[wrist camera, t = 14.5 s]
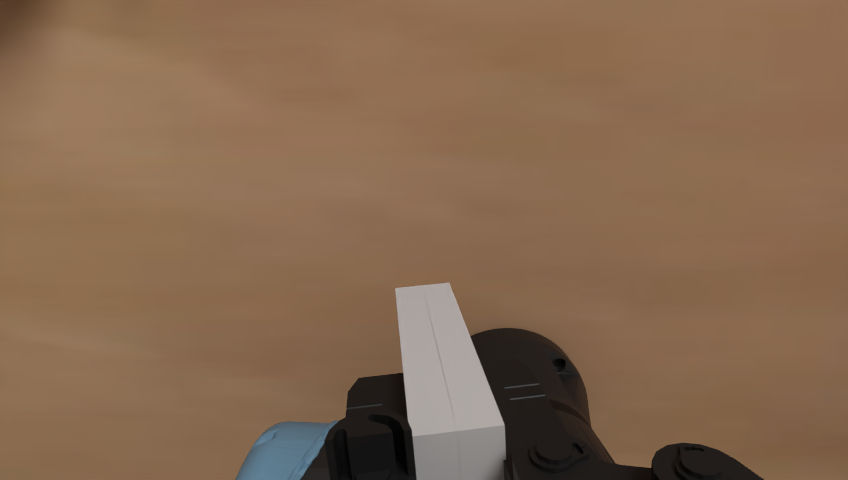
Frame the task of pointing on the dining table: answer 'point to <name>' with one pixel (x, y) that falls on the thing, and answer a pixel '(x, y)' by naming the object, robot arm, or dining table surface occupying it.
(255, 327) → the dining table surface
